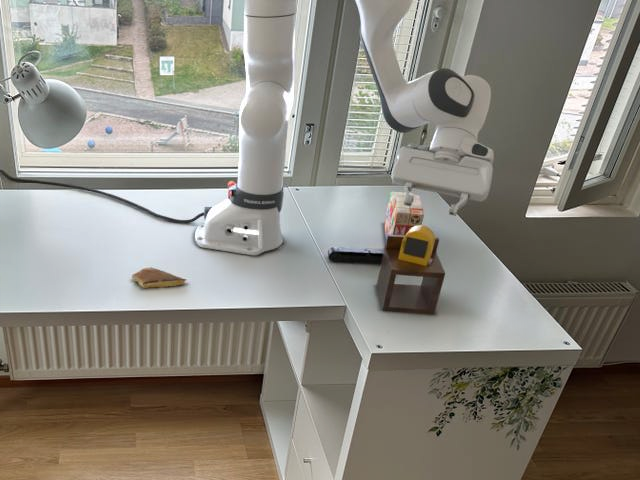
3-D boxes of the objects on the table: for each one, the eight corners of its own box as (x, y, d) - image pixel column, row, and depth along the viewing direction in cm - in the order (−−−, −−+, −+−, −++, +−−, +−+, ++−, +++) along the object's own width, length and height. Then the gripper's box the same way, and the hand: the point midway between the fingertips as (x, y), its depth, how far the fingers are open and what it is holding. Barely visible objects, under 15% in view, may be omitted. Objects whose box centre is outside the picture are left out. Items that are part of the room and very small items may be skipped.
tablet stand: (327, 262, 169) (329, 250, 167) (326, 257, 171) (328, 246, 169) (402, 265, 168) (404, 254, 166) (400, 261, 170) (402, 250, 168)
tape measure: (397, 259, 148) (404, 228, 144) (402, 252, 151) (409, 221, 147) (428, 267, 146) (437, 235, 142) (433, 259, 149) (441, 228, 144)
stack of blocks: (383, 223, 188) (392, 180, 181) (407, 225, 187) (417, 182, 180) (387, 258, 171) (397, 211, 164) (413, 260, 170) (424, 214, 163)
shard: (186, 285, 158) (186, 278, 157) (166, 298, 153) (166, 291, 152) (149, 271, 163) (149, 264, 162) (128, 283, 158) (128, 276, 157)
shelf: (382, 310, 150) (394, 256, 143) (376, 286, 159) (387, 234, 152) (434, 314, 149) (449, 260, 142) (425, 289, 158) (438, 237, 151)
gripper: (402, 134, 149) (380, 192, 148) (501, 152, 141) (479, 213, 140) (403, 149, 155) (382, 205, 153) (498, 167, 147) (477, 226, 145)
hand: (429, 209), depth 146 cm, fingers open, 8 cm apart
